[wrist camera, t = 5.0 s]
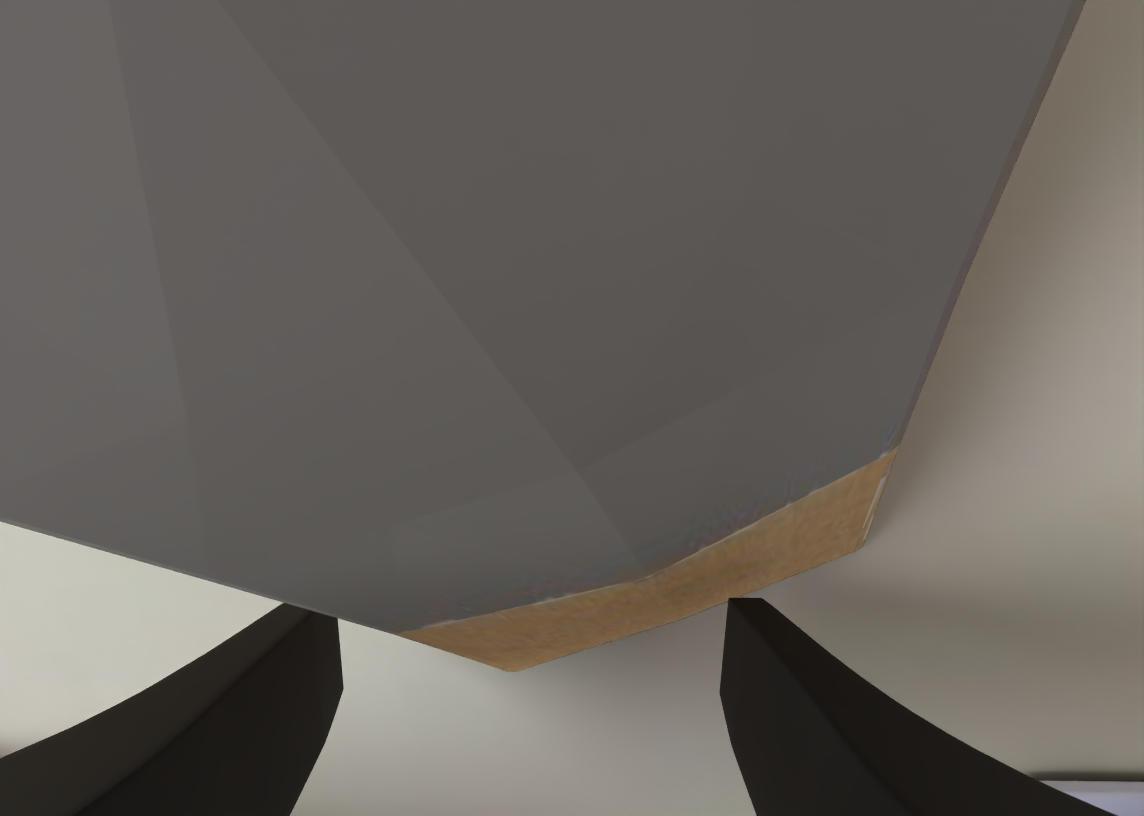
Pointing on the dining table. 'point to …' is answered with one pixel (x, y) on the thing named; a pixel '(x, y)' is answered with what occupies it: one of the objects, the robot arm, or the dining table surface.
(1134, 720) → the dining table surface
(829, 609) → the dining table surface
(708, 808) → the dining table surface
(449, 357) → the sandwich container
